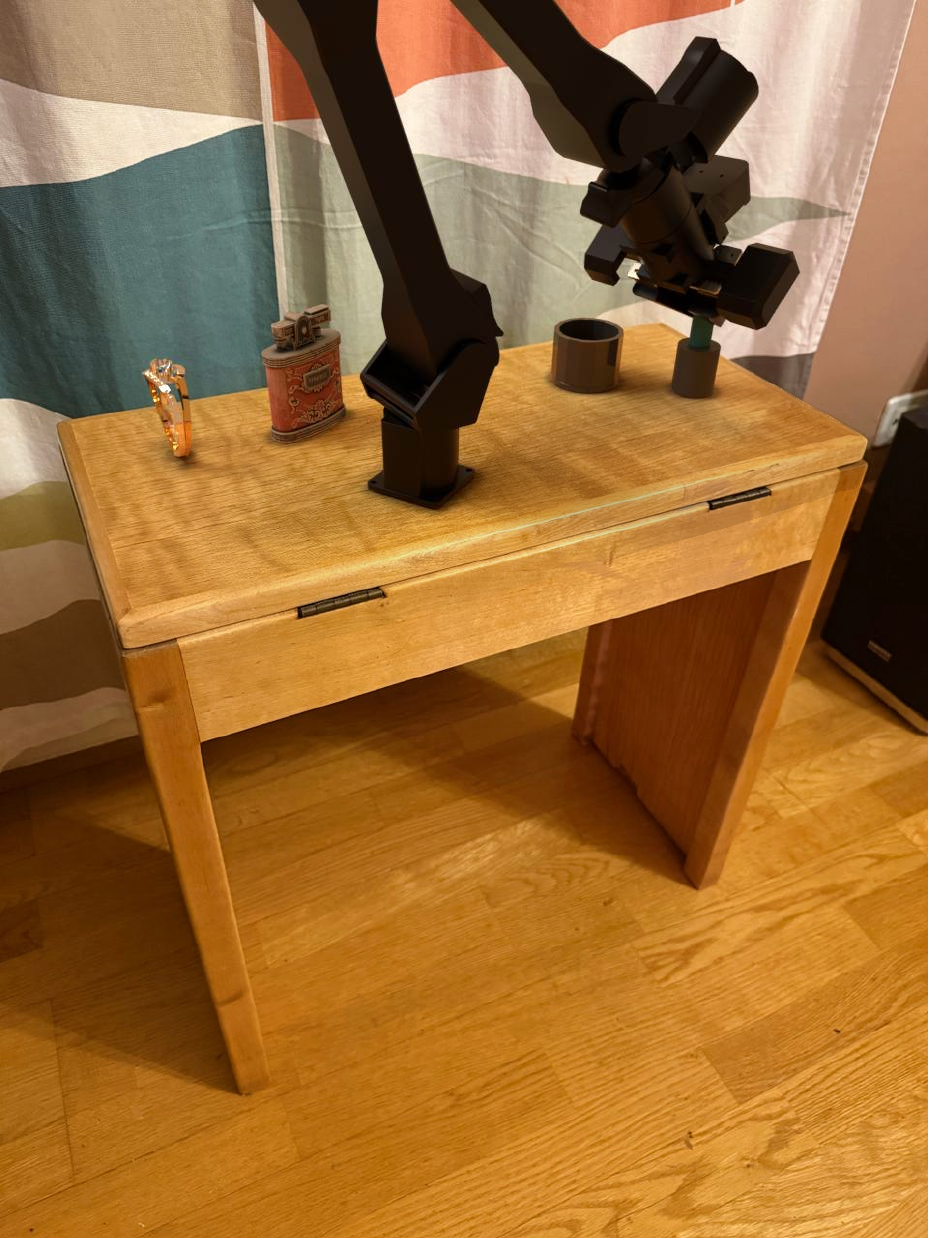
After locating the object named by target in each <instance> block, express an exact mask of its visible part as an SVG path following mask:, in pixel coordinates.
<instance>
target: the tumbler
mask: <svg viewBox="0 0 928 1238" xmlns="http://www.w3.org/2000/svg"><path fill="white" fill-rule="evenodd" d="M624 331H625V330H624V328H623V327H622V326H620V325H619V324H618V323H615V322H612V321H610V320H606V319H601V318H594V317H575V318H574V317H573V318H568V319H565V320H561V321H559V322H558V323H556V324H554V326H553V337H552V339H553V340H552V350H551V367H550V381H551V382H552V383H553V385H555V386H556V387H559V388H560V389H562V390H565V391H569V392H574V393H579V394H596V393H602V392H606V391H610V390H612V389H613V388H615V387H617V385H618V384H619V383H618V382H619V377H620V370H621V361H622V353H623V344H624V336H625V332H624Z"/></svg>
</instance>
